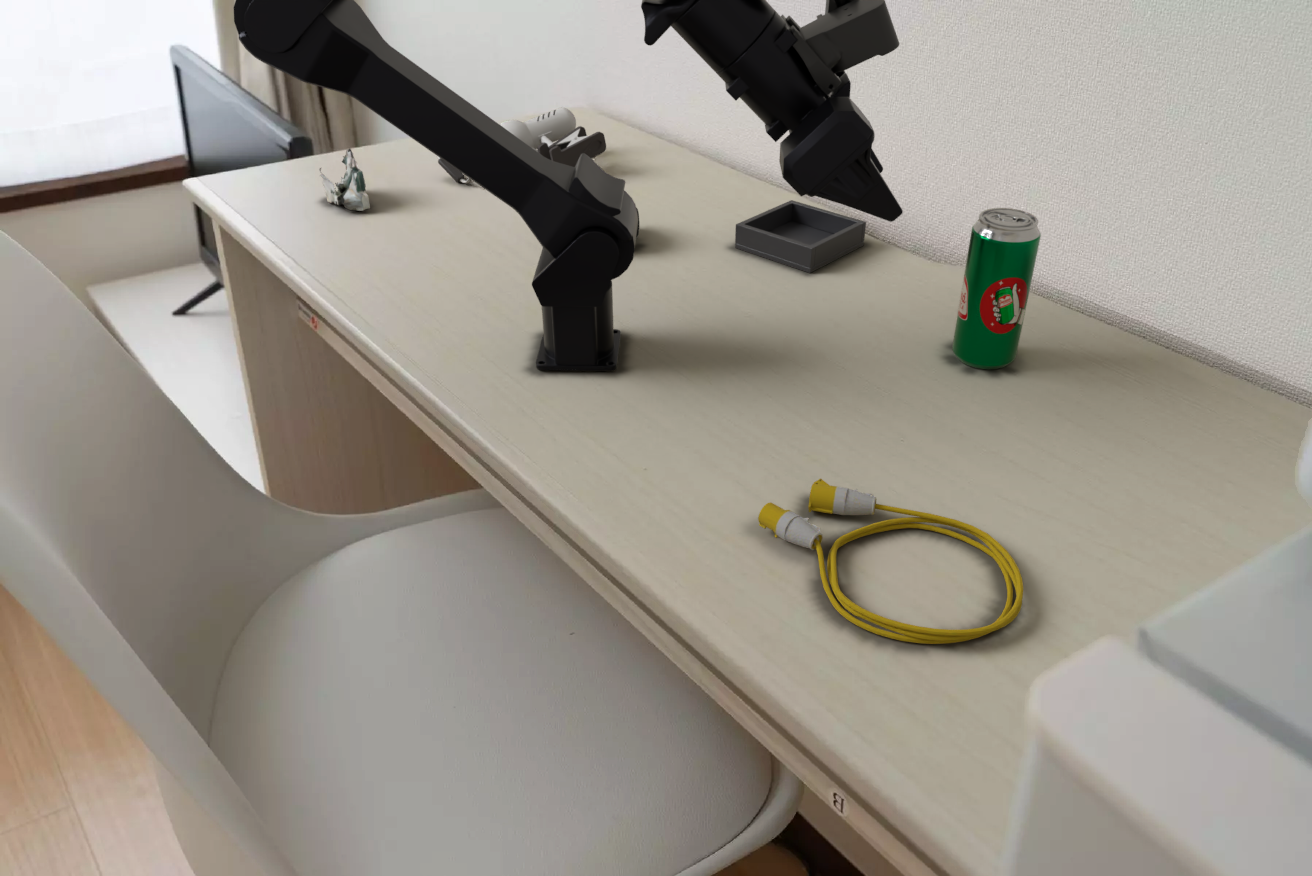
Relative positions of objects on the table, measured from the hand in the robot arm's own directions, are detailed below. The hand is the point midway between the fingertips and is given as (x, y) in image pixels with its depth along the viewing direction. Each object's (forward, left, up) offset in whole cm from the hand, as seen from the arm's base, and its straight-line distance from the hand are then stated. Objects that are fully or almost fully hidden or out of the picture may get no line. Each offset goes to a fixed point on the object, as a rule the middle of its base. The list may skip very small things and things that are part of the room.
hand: (887, 194), depth 80 cm
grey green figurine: (+34, +53, -14) cm, 64 cm away
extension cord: (-27, +2, -14) cm, 30 cm away
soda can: (0, -9, -14) cm, 17 cm away
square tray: (+23, +4, -14) cm, 27 cm away
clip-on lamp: (+45, +35, -14) cm, 59 cm away
